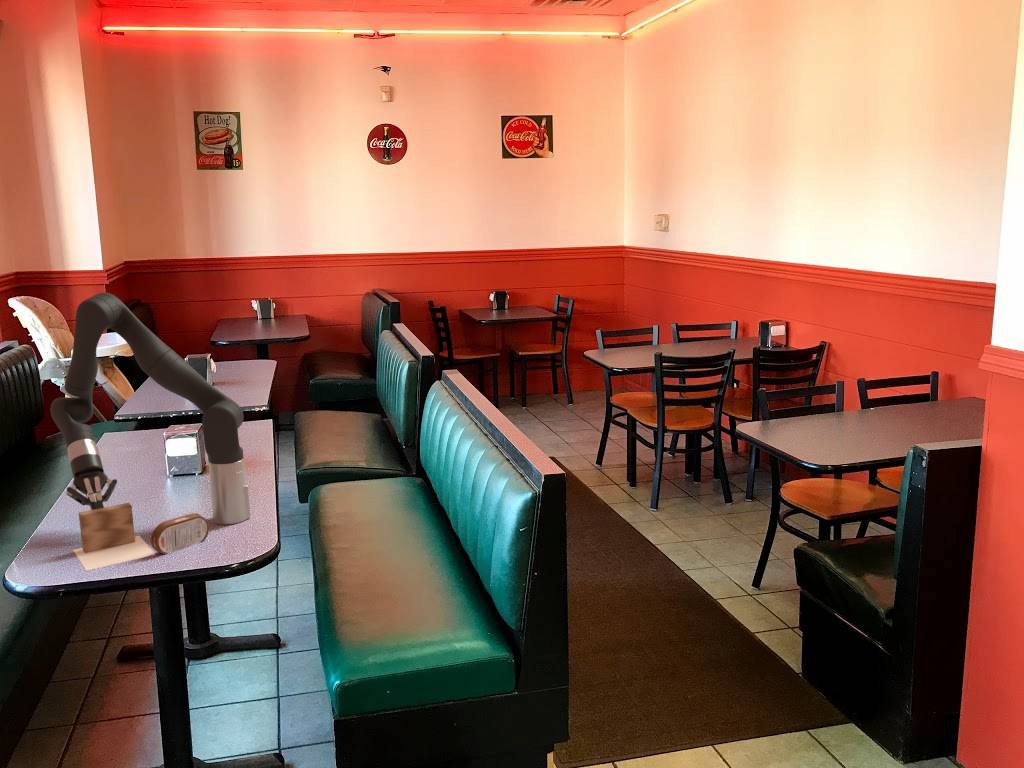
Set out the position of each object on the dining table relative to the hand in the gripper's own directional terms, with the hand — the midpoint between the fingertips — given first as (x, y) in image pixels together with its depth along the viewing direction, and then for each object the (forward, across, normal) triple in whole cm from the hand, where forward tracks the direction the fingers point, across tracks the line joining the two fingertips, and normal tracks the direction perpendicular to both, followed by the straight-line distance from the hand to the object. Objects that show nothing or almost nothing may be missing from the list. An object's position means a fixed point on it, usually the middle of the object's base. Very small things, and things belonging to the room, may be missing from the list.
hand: (99, 515), depth 233 cm
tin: (+19, +15, -10) cm, 26 cm away
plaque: (+10, 0, -2) cm, 10 cm away
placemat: (+14, 0, -5) cm, 15 cm away
